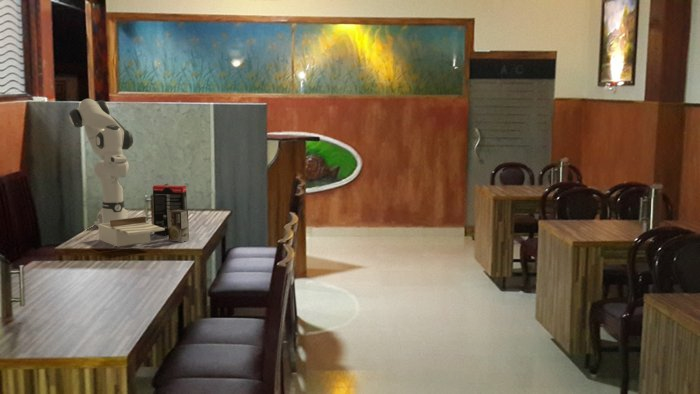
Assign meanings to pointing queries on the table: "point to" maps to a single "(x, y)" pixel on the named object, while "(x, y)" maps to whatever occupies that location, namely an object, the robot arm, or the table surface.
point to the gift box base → (120, 236)
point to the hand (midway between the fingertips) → (114, 184)
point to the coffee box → (178, 225)
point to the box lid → (134, 226)
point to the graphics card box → (167, 204)
